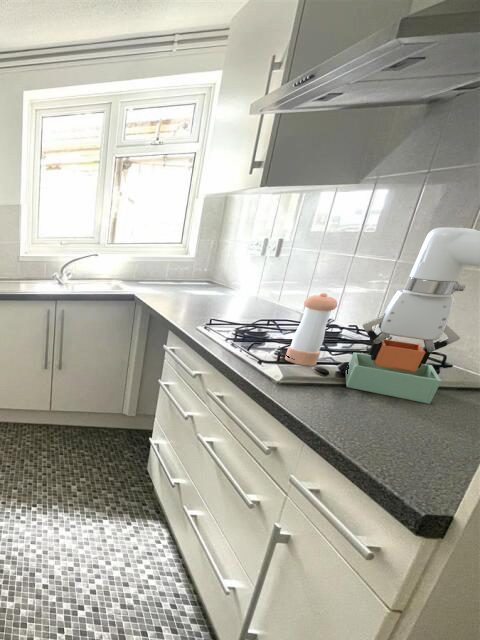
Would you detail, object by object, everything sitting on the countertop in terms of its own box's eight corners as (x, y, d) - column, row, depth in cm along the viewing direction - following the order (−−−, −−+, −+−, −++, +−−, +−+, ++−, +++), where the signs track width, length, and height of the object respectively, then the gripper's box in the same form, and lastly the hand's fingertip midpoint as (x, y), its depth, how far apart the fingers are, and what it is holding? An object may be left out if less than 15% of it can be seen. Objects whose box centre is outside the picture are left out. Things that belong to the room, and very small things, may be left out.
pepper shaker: (322, 363, 116) (348, 294, 108) (305, 367, 113) (331, 297, 105) (294, 355, 122) (317, 289, 114) (278, 358, 119) (300, 291, 112)
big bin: (421, 386, 102) (432, 365, 99) (429, 403, 93) (441, 381, 91) (345, 372, 110) (353, 352, 108) (346, 387, 101) (355, 365, 99)
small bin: (411, 364, 100) (420, 344, 98) (415, 372, 95) (425, 352, 93) (372, 357, 104) (380, 338, 102) (374, 365, 99) (383, 345, 97)
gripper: (482, 290, 89) (443, 366, 97) (375, 280, 99) (346, 350, 107) (492, 295, 84) (449, 376, 91) (377, 284, 94) (347, 358, 101)
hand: (394, 361), depth 99 cm, fingers closed on small bin, 7 cm apart
